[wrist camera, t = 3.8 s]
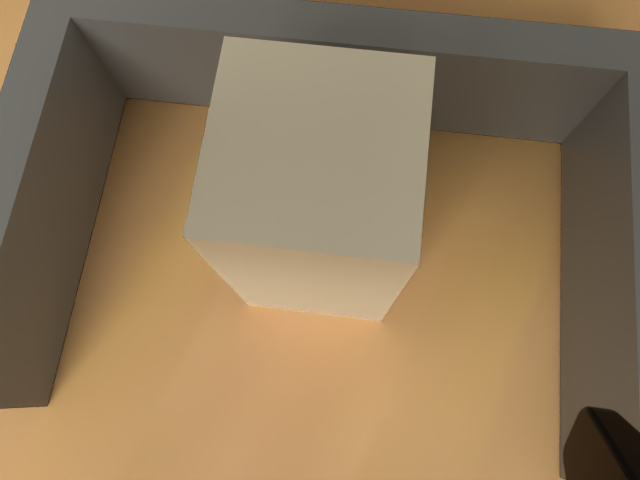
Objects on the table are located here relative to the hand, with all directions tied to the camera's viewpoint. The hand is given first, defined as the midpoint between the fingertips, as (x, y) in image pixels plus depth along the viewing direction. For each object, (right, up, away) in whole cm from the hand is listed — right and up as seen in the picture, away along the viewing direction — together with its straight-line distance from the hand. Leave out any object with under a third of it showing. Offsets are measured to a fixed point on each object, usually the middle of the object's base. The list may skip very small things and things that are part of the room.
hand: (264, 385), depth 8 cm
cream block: (+1, +2, +13) cm, 13 cm away
